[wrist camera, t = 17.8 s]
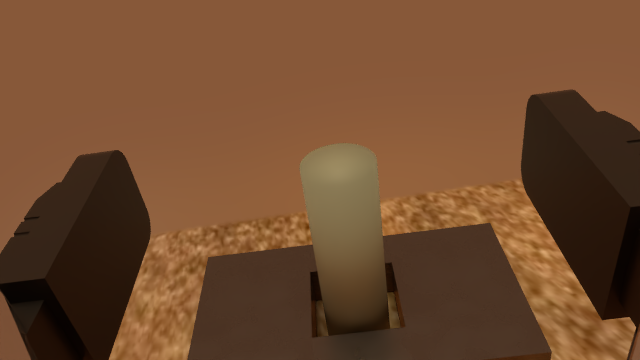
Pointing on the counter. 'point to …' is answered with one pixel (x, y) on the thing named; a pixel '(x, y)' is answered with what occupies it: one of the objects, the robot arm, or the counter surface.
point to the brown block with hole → (401, 277)
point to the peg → (347, 236)
